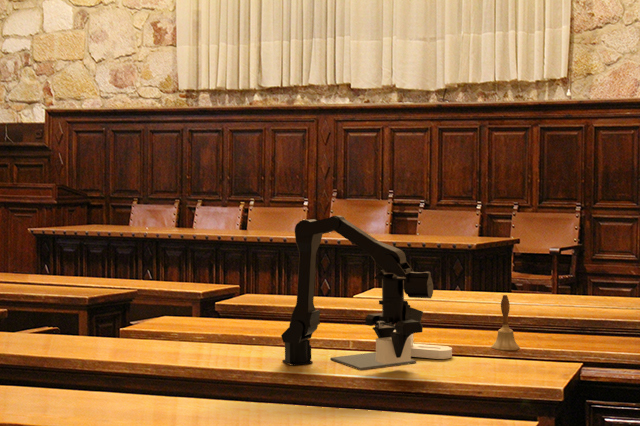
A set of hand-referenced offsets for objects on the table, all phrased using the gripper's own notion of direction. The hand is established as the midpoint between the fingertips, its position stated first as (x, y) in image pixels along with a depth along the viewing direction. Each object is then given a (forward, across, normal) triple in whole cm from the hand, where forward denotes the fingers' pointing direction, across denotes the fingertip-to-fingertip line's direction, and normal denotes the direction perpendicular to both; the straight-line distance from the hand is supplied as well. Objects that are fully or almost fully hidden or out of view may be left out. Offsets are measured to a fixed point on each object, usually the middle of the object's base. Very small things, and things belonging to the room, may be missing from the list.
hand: (393, 355), depth 214 cm
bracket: (+4, +13, -17) cm, 22 cm away
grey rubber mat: (+4, +13, -2) cm, 14 cm away
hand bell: (+4, +9, -47) cm, 48 cm away
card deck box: (+1, 0, 0) cm, 1 cm away
